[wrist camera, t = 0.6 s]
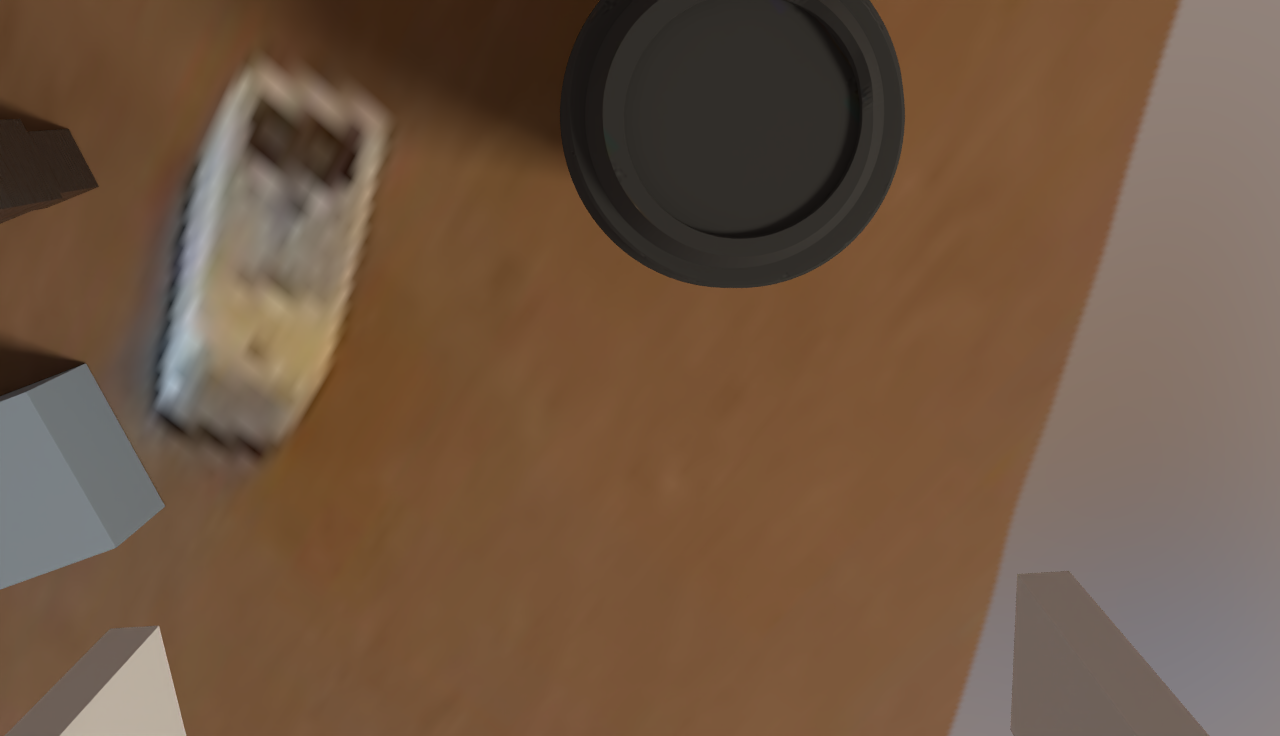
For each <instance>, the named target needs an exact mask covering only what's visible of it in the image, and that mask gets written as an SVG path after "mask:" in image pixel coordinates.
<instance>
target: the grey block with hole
mask: <svg viewBox="0 0 1280 736" xmlns="http://www.w3.org/2000/svg"><path fill="white" fill-rule="evenodd" d="M164 507H165V505H164V503H163V502H162V500H161V498H160V496H159V494H158V493H157V491H156V489H155V487H154V485H153V484H152V482H151V480H150V478H149V476H148V475H147V473H146V471H145V469H144V467H143V466H142V464H141V462H140V460H139V458H138V457H137V455H136V453H135V451H134V449H133V448H132V446H131V444H130V442H129V440H128V439H127V437H126V435H125V433H124V431H123V430H122V428H121V426H120V424H119V422H118V421H117V419H116V417H115V415H114V413H113V412H112V410H111V408H110V406H109V404H108V403H107V401H106V399H105V397H104V395H103V393H102V392H101V390H100V388H99V386H98V384H97V383H96V381H95V379H94V377H93V375H92V374H91V372H90V370H89V368H88V366H87V365H86V363H85V364H83V365H80V366H78V367H75V368H72V369H70V370H67V371H65V372H62V373H59V374H57V375H54V376H52V377H49V378H46V379H44V380H41V381H39V382H36V383H33V384H31V385H28V386H26V387H23V388H21V389H18V390H15V391H13V392H10V393H8V394H5V395H2V396H0V589H3V588H6V587H8V586H11V585H14V584H17V583H19V582H22V581H25V580H28V579H31V578H33V577H36V576H39V575H42V574H45V573H47V572H50V571H53V570H56V569H58V568H61V567H64V566H67V565H70V564H72V563H75V562H78V561H81V560H83V559H86V558H89V557H92V556H95V555H97V554H100V553H103V552H106V551H109V550H111V549H114V548H116V547H118V546H119V545H120V544H121V543H122V542H124V541H125V540H126V539H127V538H128V537H129V536H131V535H132V534H133V533H134V532H135V531H137V530H138V529H139V528H140V527H141V526H142V525H144V524H145V523H146V522H147V521H148V520H150V519H151V518H152V517H153V516H154V515H155V514H157V513H158V512H159V511H160V510H161V509H162V508H164Z"/></svg>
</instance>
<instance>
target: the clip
mask: <svg viewBox="0 0 1280 736" xmlns="http://www.w3.org/2000/svg"><path fill="white" fill-rule="evenodd" d="M97 187H99V186H98V184H97V183H96V181H95V179H94V177H93V175H92V173H91V171H90V169H89V167H88V165H87V163H86V162H85V160H84V158H83V156H82V154H81V152H80V150H79V148H78V146H77V144H76V142H75V141H74V139H73V137H72V135H71V133H70V131H69V129H61V130H45V131H29V132H27V131H26V129H25V127H24V125H23V123H22V121H21V120H20V119H9V120H0V223H3V222H5V221H8V220H10V219H13V218H15V217H18V216H20V215H23V214H25V213H27V212H30V211H33V210H38V209H43V208H48V207H50V206H52V205H55V204H57V203H60V202H62V201H65V200H67V199H70V198H72V197H75V196H77V195H79V194H82V193H84V192H87V191H89V190H92V189H94V188H97Z"/></svg>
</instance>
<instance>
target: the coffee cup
mask: <svg viewBox="0 0 1280 736" xmlns="http://www.w3.org/2000/svg"><path fill="white" fill-rule="evenodd" d="M904 123H905V107H904V94H903V85H902V78H901V72H900V67H899V63H898V59H897V55H896V52H895V49H894V46H893V43H892V41H891V38H890V36H889V33H888V31H887V29H886V27H885V25H884V23H883V21H882V19H881V18H880V16H879V14H878V12H877V11H876V9H875V8H874V6H873V5H872V3H871V2H870V1H869V0H600V1H599V2H598V4H597V5H596V6H595V8H594V9H593V11H592V12H591V14H590V15H589V17H588V18H587V20H586V22H585V24H584V25H583V27H582V29H581V31H580V33H579V35H578V37H577V39H576V42H575V44H574V46H573V49H572V51H571V54H570V57H569V60H568V64H567V67H566V71H565V76H564V80H563V86H562V93H561V105H560V125H561V137H562V144H563V149H564V154H565V158H566V162H567V166H568V169H569V172H570V175H571V178H572V181H573V183H574V185H575V188H576V190H577V192H578V194H579V196H580V198H581V200H582V202H583V204H584V205H585V207H586V209H587V210H588V212H589V213H590V215H591V216H592V218H593V219H594V220H595V222H596V223H597V224H598V226H599V227H600V228H601V229H602V230H603V231H604V233H605V234H606V235H607V236H608V237H609V238H610V239H611V240H612V241H613V242H614V243H615V244H616V245H617V246H619V247H620V248H621V249H622V250H623V251H624V252H626V253H627V254H628V255H630V256H631V257H632V258H634V259H635V260H637V261H638V262H640V263H642V264H643V265H645V266H646V267H648V268H650V269H652V270H654V271H656V272H658V273H661V274H663V275H665V276H668V277H670V278H673V279H676V280H679V281H682V282H686V283H690V284H695V285H700V286H708V287H720V288H749V287H760V286H766V285H772V284H776V283H780V282H784V281H787V280H790V279H793V278H796V277H798V276H801V275H803V274H805V273H808V272H810V271H812V270H814V269H816V268H817V267H819V266H821V265H823V264H824V263H826V262H827V261H829V260H830V259H832V258H833V257H835V256H836V255H837V254H838V253H840V252H841V251H842V250H843V249H845V248H846V247H847V246H848V245H849V244H850V243H851V242H852V241H853V240H854V239H855V238H856V237H857V236H858V235H859V234H860V233H861V232H862V231H863V229H864V228H865V227H866V226H867V224H868V223H869V222H870V220H871V219H872V218H873V216H874V215H875V213H876V212H877V210H878V209H879V207H880V205H881V203H882V202H883V200H884V198H885V196H886V194H887V192H888V190H889V188H890V185H891V183H892V180H893V178H894V175H895V172H896V169H897V165H898V162H899V158H900V154H901V149H902V143H903V136H904Z"/></svg>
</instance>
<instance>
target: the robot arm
mask: <svg viewBox="0 0 1280 736" xmlns="http://www.w3.org/2000/svg"><path fill="white" fill-rule="evenodd" d="M1011 731H1012V733H1013V735H1014V736H1209V735H1208V734H1207V733H1206V731H1205V730H1204V729H1203V728H1202V727H1201V726H1200V724H1199V723H1198V722H1197V721H1196V720H1195V718H1194V717H1193V716H1192V715H1191V714H1190V713H1189V711H1187V709H1186V708H1185V707H1184V706H1183V705H1182V703H1181V702H1180V701H1179V700H1178V699H1177V697H1176V696H1175V695H1174V694H1173V693H1172V691H1171V690H1170V689H1169V688H1168V687H1167V686H1166V684H1165V683H1164V682H1163V681H1162V680H1161V679H1160V677H1159V676H1158V675H1157V674H1156V673H1155V672H1154V670H1153V669H1152V668H1151V667H1150V666H1149V664H1148V663H1147V662H1146V661H1145V660H1144V659H1143V657H1142V656H1141V655H1140V654H1139V653H1138V652H1137V650H1136V649H1135V648H1134V647H1133V646H1132V644H1131V643H1130V642H1129V641H1128V640H1127V639H1126V637H1125V636H1124V635H1123V634H1122V633H1121V632H1120V630H1119V629H1118V628H1117V627H1116V626H1115V625H1114V623H1113V622H1112V621H1111V620H1110V619H1109V617H1108V616H1107V615H1106V614H1105V613H1104V612H1103V610H1101V608H1100V607H1099V606H1098V605H1097V603H1096V602H1095V601H1094V600H1093V599H1092V598H1091V597H1090V595H1089V594H1088V593H1087V592H1086V591H1085V589H1084V588H1083V587H1082V586H1081V585H1080V583H1079V582H1078V581H1077V580H1076V579H1075V578H1074V576H1073V575H1072V574H1071V573H1070V572H1069V571H1061V572H1044V573H1028V574H1017V593H1016V616H1015V640H1014V662H1013V685H1012V708H1011ZM5 736H186V733H185V729H184V725H183V721H182V717H181V713H180V709H179V705H178V701H177V697H176V693H175V689H174V685H173V681H172V677H171V673H170V669H169V665H168V661H167V657H166V653H165V648H164V644H163V640H162V636H161V632H160V628H159V626H147V627H131V628H114V629H110V630H109V631H108V632H107V633H106V634H105V635H104V636H103V637H102V638H101V639H100V640H99V641H98V642H97V643H96V644H95V645H94V646H93V647H92V648H91V649H90V650H89V651H88V652H87V653H86V654H85V655H84V656H83V657H82V658H81V659H80V660H79V661H78V662H77V663H76V664H75V665H74V666H73V667H72V668H71V669H70V670H69V671H68V672H67V673H66V674H65V675H64V676H63V677H62V678H61V679H60V680H59V681H58V682H57V683H56V684H55V685H54V686H53V687H52V688H51V689H50V690H49V691H48V692H47V693H46V694H45V695H44V696H43V697H42V698H41V699H40V700H39V701H38V702H37V703H36V704H35V705H34V706H33V707H32V708H31V710H30V711H29V712H28V713H27V714H26V715H25V716H24V717H23V718H22V719H21V720H20V721H19V722H18V723H17V724H16V725H15V726H14V727H13V728H12V729H11V730H10V731H9V732H8V733H7V734H6V735H5Z"/></svg>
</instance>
